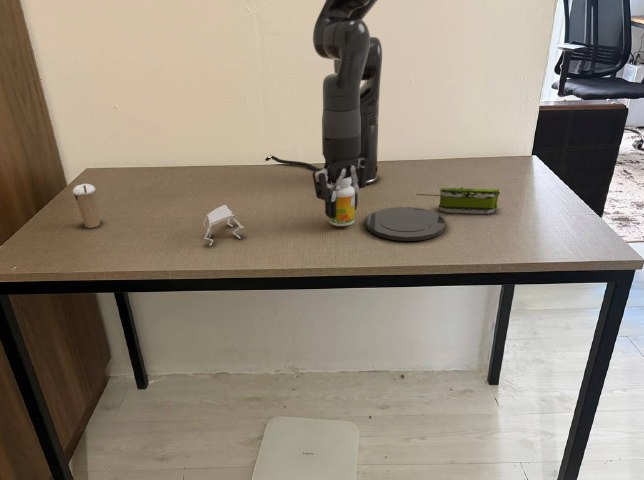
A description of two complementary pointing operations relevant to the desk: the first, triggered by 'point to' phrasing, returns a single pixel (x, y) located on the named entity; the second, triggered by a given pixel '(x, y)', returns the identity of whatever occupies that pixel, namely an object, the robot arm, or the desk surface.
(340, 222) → the supplement bottle
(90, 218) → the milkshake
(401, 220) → the plate
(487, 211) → the toy tank
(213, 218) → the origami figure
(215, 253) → the desk surface
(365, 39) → the robot arm
